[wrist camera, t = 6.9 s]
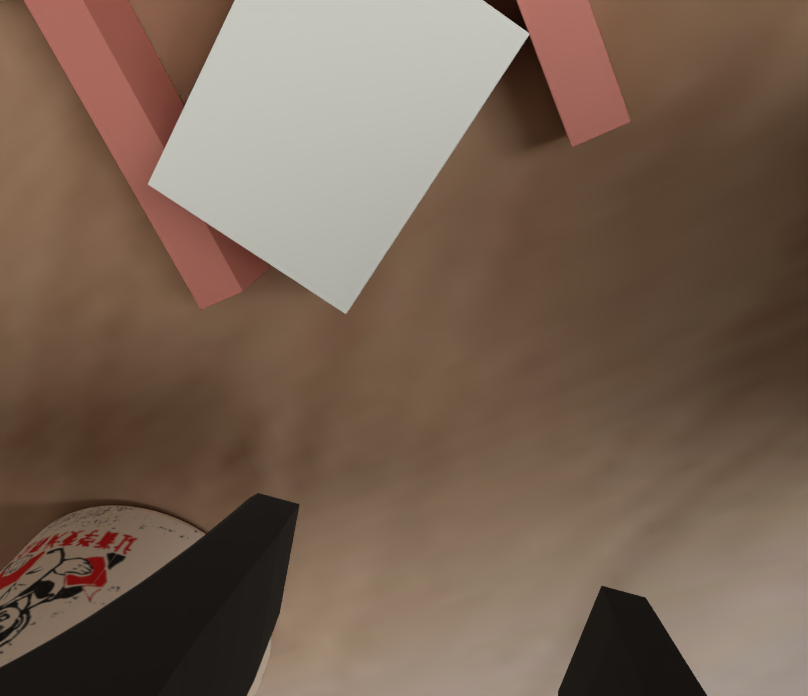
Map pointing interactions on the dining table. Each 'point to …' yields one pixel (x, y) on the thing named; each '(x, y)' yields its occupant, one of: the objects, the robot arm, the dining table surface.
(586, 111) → the pink u-shaped block
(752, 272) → the dining table surface
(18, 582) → the teacup with lid
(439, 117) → the white rectangular block
